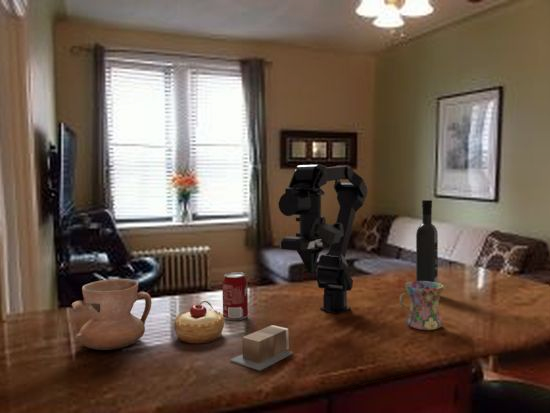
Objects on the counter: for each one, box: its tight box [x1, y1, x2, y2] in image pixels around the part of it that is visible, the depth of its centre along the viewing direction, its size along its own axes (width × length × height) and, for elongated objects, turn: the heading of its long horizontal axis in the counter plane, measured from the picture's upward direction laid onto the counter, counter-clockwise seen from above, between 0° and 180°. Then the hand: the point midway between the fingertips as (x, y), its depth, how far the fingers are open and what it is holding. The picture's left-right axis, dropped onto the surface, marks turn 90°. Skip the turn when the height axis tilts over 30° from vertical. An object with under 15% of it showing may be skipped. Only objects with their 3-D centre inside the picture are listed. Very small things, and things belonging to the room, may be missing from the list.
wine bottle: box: [415, 199, 439, 283], centre depth 147 cm, size 6×6×30 cm
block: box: [241, 324, 290, 363], centre depth 101 cm, size 4×4×10 cm
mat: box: [230, 349, 294, 372], centre depth 100 cm, size 11×8×1 cm
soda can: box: [221, 272, 249, 322], centre depth 128 cm, size 7×7×12 cm
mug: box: [398, 280, 445, 331], centre depth 117 cm, size 12×9×11 cm
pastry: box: [173, 300, 225, 344], centre depth 113 cm, size 12×12×9 cm
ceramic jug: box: [71, 278, 152, 351], centre depth 109 cm, size 18×14×14 cm
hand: (310, 273), depth 122 cm, fingers closed
